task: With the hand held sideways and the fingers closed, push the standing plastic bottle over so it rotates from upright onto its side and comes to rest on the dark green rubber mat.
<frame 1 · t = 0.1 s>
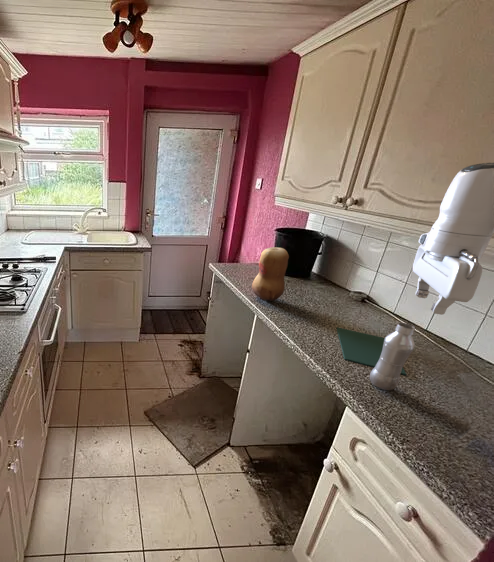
hand: (428, 304, 70), 31 cm above the countertop, tool pointing down, fingers open, 8 cm apart
rubber mat: (367, 349, 109), on the countertop
plastic bottle: (380, 386, 91), on the countertop
butternut squash: (265, 299, 146), on the countertop
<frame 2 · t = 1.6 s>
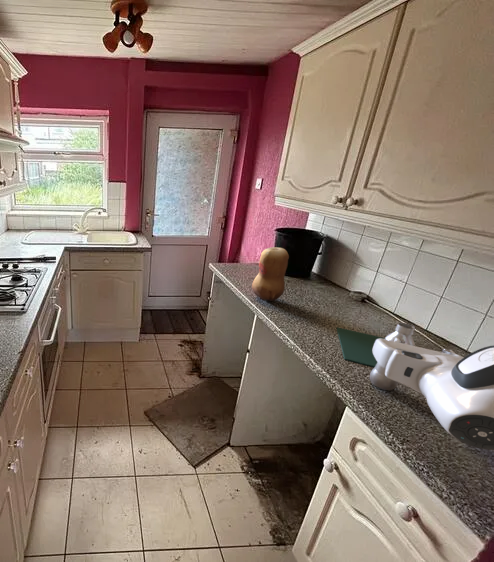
hand: (421, 346, 74), 20 cm above the countertop, tool horizontal, fingers open, 7 cm apart
nothing on the countertop moved.
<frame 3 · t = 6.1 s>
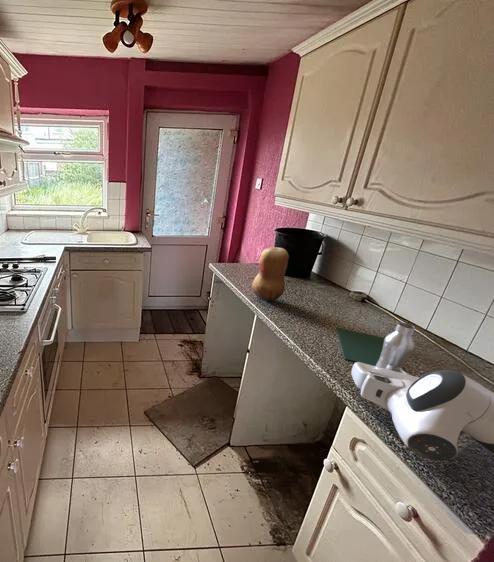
hand: (393, 368, 86), 8 cm above the countertop, tool horizontal, fingers closed, pressing on plastic bottle
plastic bottle: (380, 386, 91), on the countertop, touching gripper
everything else where it was.
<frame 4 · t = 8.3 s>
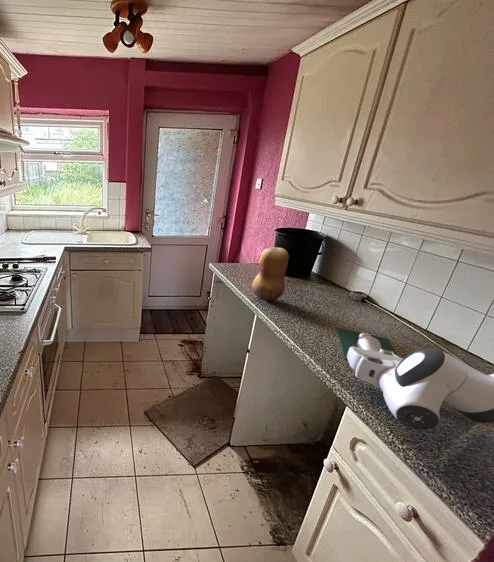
hand: (385, 352, 93), 8 cm above the countertop, tool horizontal, fingers closed
plastic bottle: (381, 371, 92), point 3 cm above the countertop, touching rubber mat
everything else where it was.
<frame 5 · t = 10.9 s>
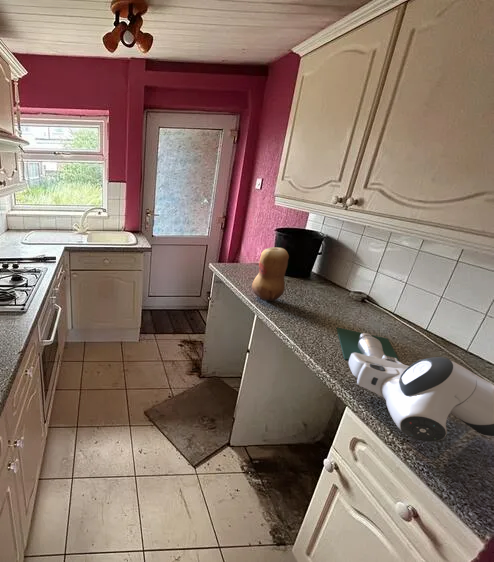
hand: (388, 358, 90), 8 cm above the countertop, tool horizontal, fingers closed
nothing on the countertop moved.
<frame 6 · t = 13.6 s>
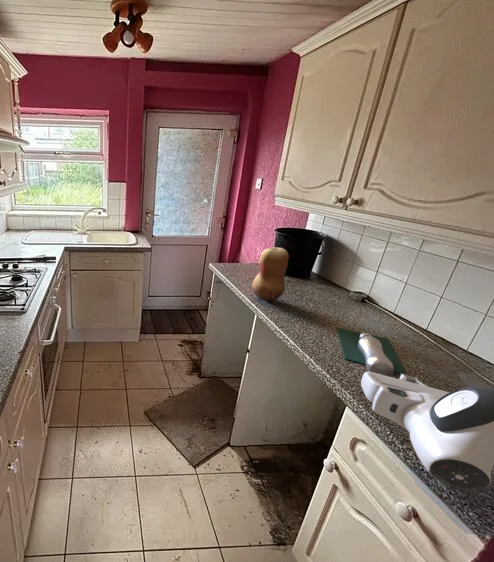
hand: (407, 377, 77), 11 cm above the countertop, tool horizontal, fingers closed
nothing on the countertop moved.
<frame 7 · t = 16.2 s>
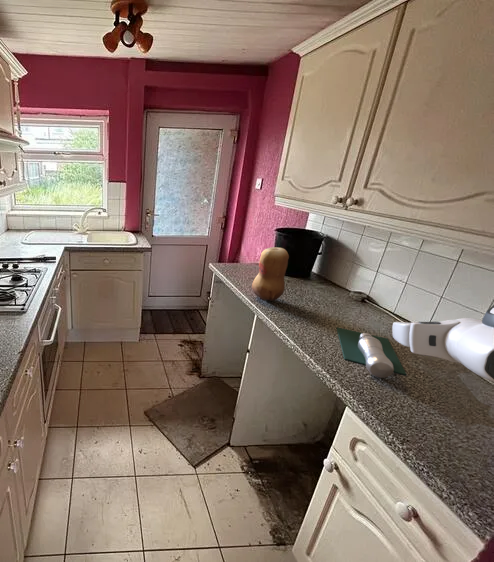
hand: (443, 327, 71), 26 cm above the countertop, tool horizontal, fingers closed
nothing on the countertop moved.
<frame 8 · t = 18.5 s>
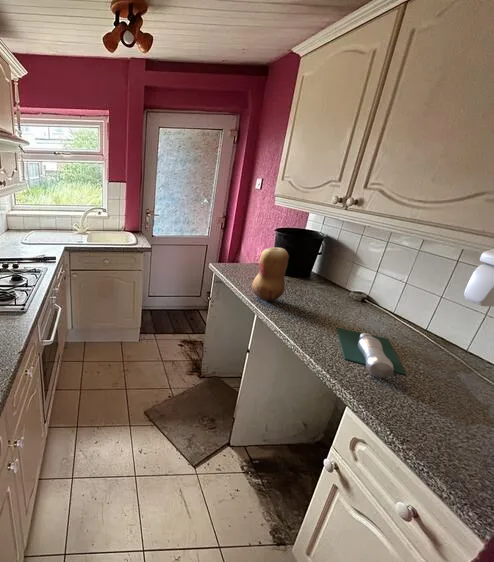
nothing on the countertop moved.
at the end: plastic bottle tilted 88°; plastic bottle touching rubber mat, countertop; the gripper is holding nothing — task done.
